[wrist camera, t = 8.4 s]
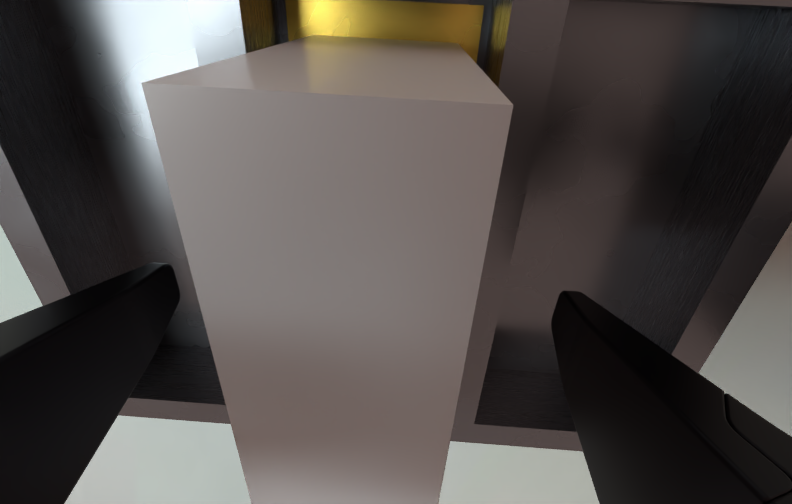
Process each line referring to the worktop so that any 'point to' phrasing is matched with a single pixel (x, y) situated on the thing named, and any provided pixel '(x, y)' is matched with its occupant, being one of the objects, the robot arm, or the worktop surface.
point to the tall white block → (336, 252)
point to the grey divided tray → (517, 190)
